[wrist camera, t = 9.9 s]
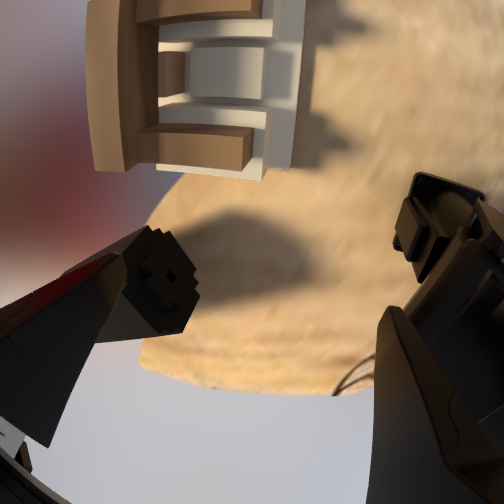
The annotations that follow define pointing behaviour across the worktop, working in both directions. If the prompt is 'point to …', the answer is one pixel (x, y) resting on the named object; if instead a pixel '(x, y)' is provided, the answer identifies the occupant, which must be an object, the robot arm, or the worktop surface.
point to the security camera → (149, 287)
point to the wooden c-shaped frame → (236, 81)
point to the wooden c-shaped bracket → (151, 88)
